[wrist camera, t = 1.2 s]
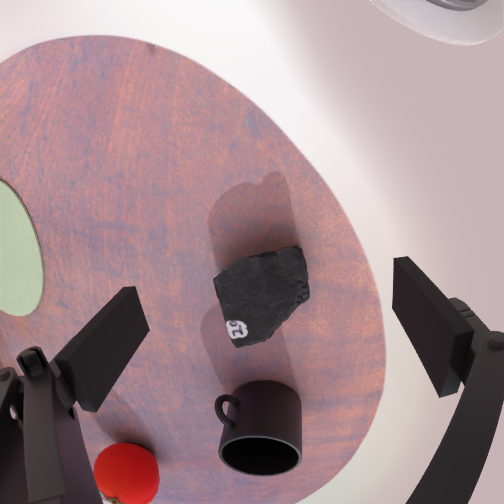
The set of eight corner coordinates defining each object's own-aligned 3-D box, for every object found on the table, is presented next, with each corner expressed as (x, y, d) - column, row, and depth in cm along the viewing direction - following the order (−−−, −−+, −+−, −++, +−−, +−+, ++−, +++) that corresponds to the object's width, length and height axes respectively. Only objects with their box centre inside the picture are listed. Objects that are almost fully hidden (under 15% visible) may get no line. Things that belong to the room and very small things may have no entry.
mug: (248, 355, 35) (237, 412, 27) (316, 404, 37) (319, 458, 29) (200, 391, 38) (183, 443, 30) (266, 433, 40) (261, 483, 32)
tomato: (147, 470, 49) (128, 520, 37) (99, 436, 47) (72, 485, 34) (183, 461, 46) (164, 520, 33) (129, 423, 43) (100, 482, 31)
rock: (241, 335, 34) (234, 369, 29) (209, 252, 31) (194, 275, 26) (320, 318, 33) (326, 350, 27) (297, 228, 30) (300, 248, 24)
